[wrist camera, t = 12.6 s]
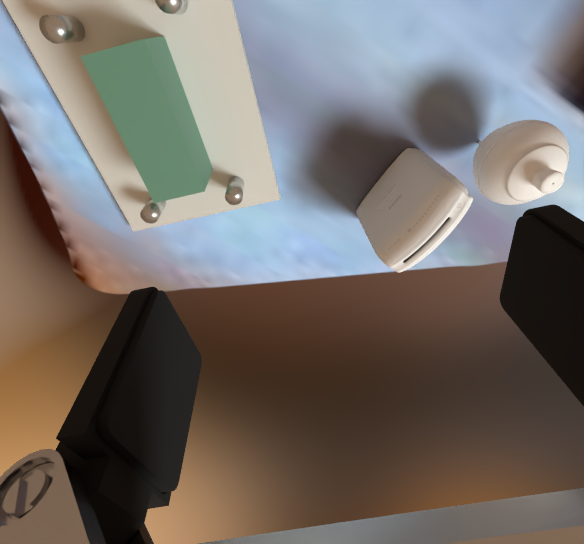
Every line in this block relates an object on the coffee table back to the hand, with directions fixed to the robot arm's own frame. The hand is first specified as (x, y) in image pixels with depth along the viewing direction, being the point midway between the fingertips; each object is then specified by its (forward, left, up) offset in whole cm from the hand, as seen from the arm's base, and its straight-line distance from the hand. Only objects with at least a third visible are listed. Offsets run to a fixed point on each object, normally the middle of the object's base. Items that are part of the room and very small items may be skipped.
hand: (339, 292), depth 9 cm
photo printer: (-10, +12, -31) cm, 34 cm away
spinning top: (-20, +9, -31) cm, 38 cm away
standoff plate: (+12, -1, -30) cm, 33 cm away
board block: (+12, -1, -29) cm, 31 cm away
